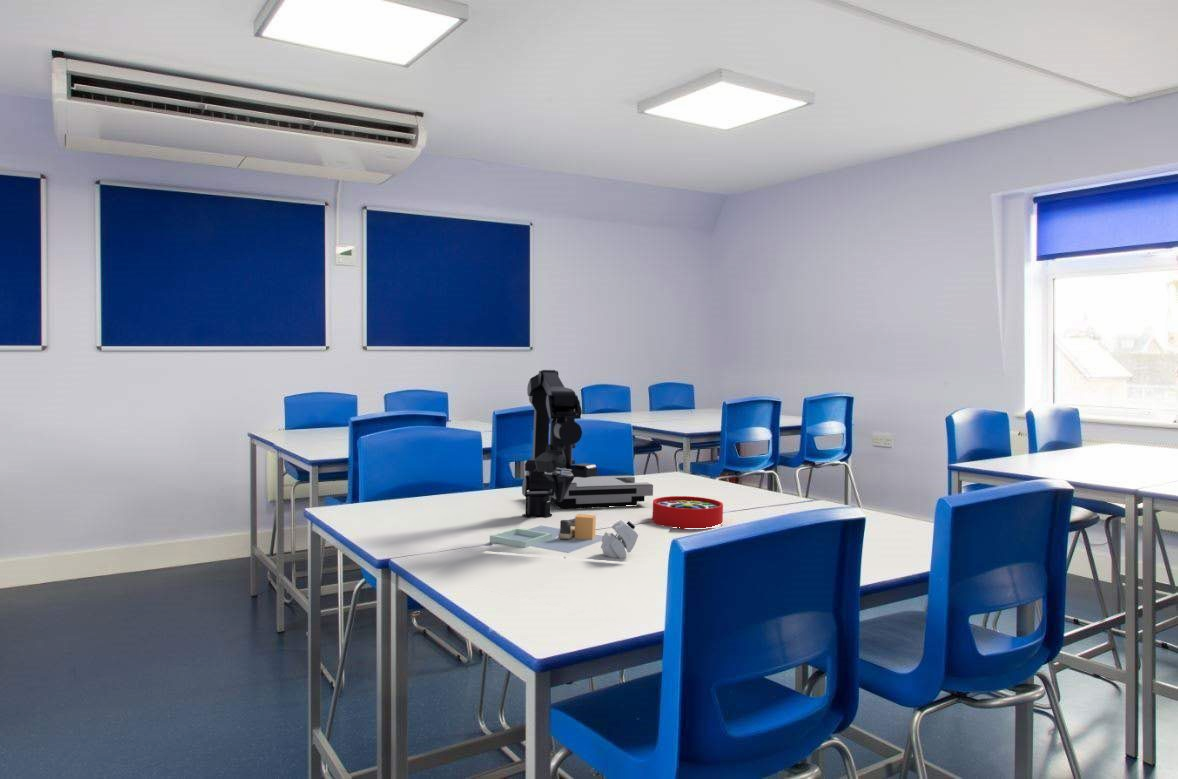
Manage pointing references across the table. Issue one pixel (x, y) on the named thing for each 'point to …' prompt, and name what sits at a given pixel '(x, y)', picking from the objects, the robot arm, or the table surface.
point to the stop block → (585, 526)
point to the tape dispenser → (619, 540)
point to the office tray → (603, 492)
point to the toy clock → (687, 512)
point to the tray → (502, 539)
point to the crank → (567, 529)
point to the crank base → (558, 540)
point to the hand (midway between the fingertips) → (559, 501)
